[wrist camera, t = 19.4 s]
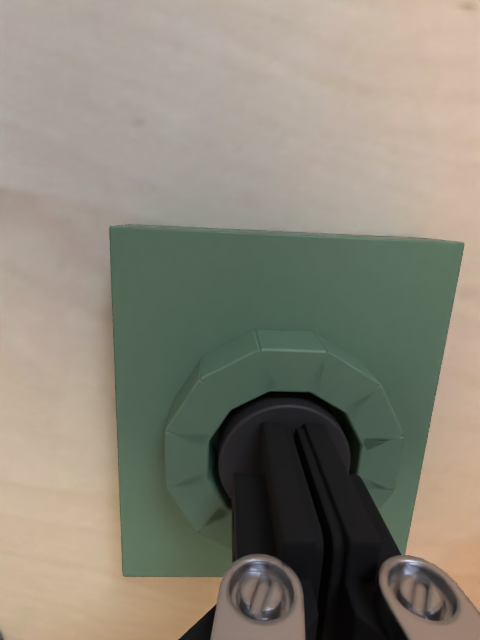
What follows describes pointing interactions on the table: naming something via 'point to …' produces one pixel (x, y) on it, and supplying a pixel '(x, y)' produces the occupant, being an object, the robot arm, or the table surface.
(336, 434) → the button
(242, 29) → the table surface
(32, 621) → the table surface
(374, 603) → the robot arm
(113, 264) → the control block
